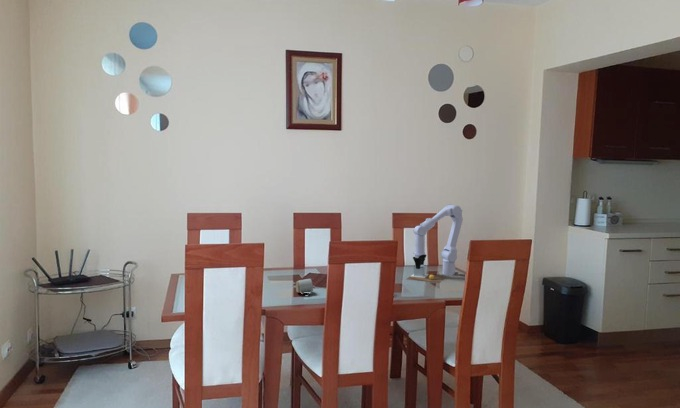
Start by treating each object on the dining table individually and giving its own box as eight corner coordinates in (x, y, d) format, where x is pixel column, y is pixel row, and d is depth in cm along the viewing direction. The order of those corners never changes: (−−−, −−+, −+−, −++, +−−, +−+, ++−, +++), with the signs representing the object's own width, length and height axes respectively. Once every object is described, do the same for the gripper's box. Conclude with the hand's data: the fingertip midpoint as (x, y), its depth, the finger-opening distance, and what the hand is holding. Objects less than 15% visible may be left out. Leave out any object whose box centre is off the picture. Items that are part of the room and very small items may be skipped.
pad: (414, 273, 294) (414, 273, 294) (428, 275, 290) (428, 274, 290) (410, 276, 286) (410, 276, 286) (424, 278, 282) (424, 277, 282)
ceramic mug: (295, 292, 255) (294, 278, 254) (309, 290, 257) (309, 277, 257) (299, 297, 245) (299, 283, 244) (315, 296, 247) (315, 282, 247)
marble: (429, 278, 281) (429, 273, 281) (434, 279, 280) (434, 274, 279) (428, 279, 278) (428, 274, 278) (433, 280, 277) (433, 275, 277)
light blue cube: (416, 273, 292) (416, 264, 291) (425, 274, 290) (425, 265, 289) (413, 275, 287) (413, 266, 286) (422, 276, 284) (423, 266, 284)
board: (414, 274, 296) (414, 273, 296) (446, 277, 287) (446, 276, 287) (405, 281, 279) (405, 279, 279) (439, 284, 271) (439, 282, 271)
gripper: (416, 243, 295) (416, 264, 296) (410, 246, 282) (410, 269, 283) (427, 244, 292) (427, 265, 293) (421, 247, 279) (421, 270, 280)
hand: (419, 267), depth 288 cm, fingers open, 7 cm apart
